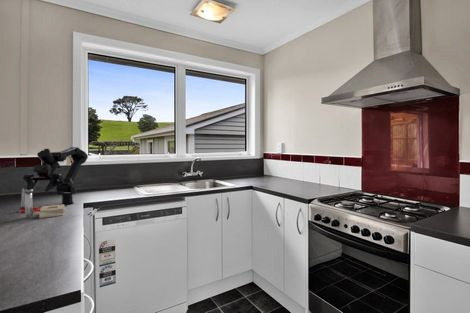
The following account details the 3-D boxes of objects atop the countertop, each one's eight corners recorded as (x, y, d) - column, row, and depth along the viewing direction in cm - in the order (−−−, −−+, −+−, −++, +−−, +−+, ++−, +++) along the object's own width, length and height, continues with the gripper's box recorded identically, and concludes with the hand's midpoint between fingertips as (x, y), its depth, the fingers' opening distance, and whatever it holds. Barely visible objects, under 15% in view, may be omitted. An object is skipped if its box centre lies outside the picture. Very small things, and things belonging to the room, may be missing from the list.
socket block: (42, 213, 137) (41, 206, 137) (64, 210, 143) (64, 204, 142) (39, 218, 127) (39, 211, 127) (63, 215, 132) (63, 208, 132)
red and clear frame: (43, 209, 149) (24, 209, 146) (44, 187, 149) (24, 187, 146) (37, 212, 141) (17, 213, 138) (38, 189, 141) (17, 189, 138)
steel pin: (24, 217, 129) (23, 189, 129) (34, 216, 131) (33, 189, 131) (23, 218, 126) (22, 190, 125) (33, 217, 128) (32, 190, 128)
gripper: (24, 159, 138) (8, 182, 128) (60, 159, 140) (47, 181, 129) (35, 173, 146) (21, 195, 136) (69, 172, 148) (57, 194, 137)
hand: (36, 191), depth 134 cm, fingers open, 9 cm apart
